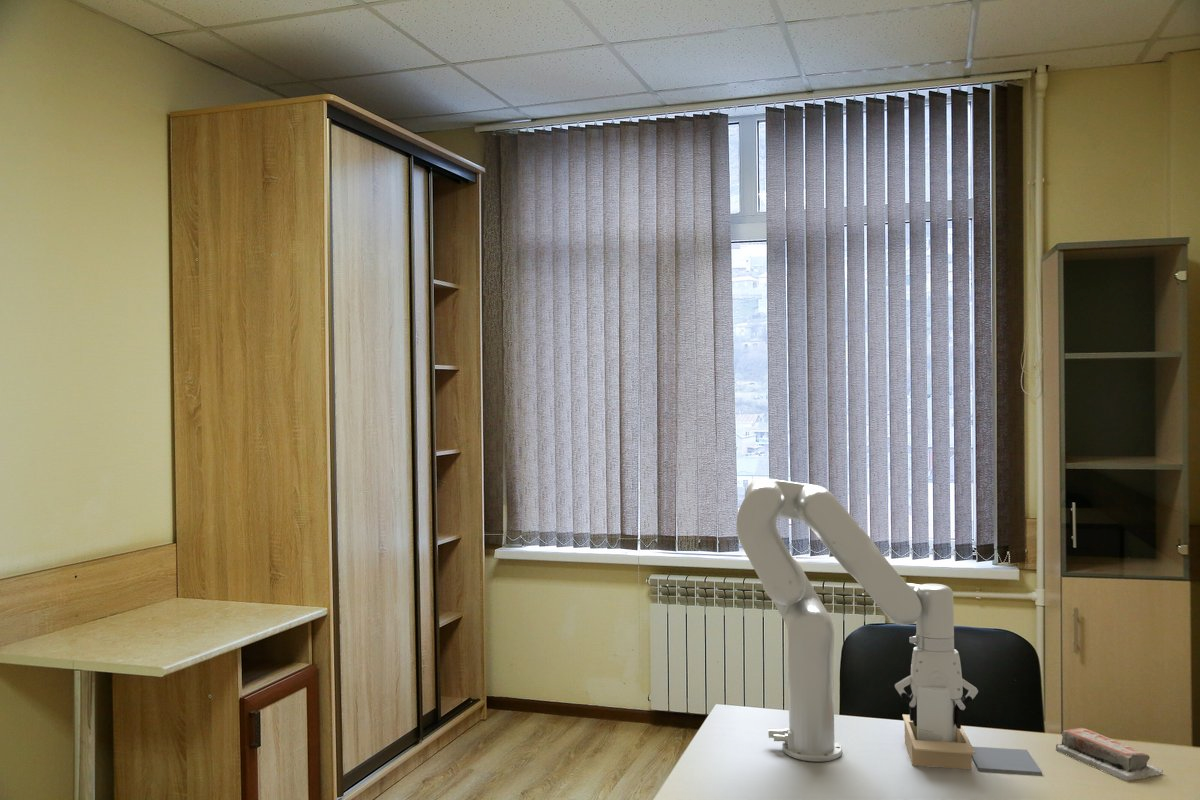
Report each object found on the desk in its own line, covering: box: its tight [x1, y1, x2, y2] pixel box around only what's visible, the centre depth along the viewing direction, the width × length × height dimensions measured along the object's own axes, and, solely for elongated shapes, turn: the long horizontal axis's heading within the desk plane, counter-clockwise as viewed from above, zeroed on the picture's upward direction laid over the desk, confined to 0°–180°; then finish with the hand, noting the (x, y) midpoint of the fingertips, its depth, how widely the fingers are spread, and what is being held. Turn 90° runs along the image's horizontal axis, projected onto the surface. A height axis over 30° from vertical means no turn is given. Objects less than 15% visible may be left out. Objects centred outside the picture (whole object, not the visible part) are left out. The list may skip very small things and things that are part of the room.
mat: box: [971, 746, 1043, 776], centre depth 190 cm, size 12×12×1 cm
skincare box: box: [916, 686, 956, 742], centre depth 194 cm, size 8×7×16 cm
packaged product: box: [1055, 727, 1164, 782], centre depth 189 cm, size 18×5×10 cm
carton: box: [902, 713, 975, 770], centre depth 194 cm, size 12×21×5 cm, turn 168°
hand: (936, 725), depth 194 cm, fingers closed on skincare box, 8 cm apart
